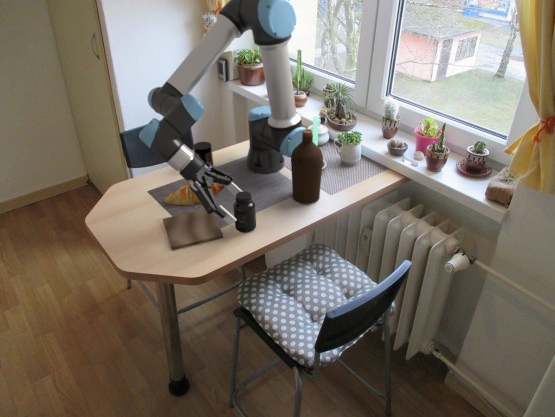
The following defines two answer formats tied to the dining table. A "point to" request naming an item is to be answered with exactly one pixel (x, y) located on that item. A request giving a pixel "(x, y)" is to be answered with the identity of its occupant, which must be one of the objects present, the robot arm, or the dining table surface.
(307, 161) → the olive oil
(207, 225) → the brown cloth napkin
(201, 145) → the supplement container
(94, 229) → the dining table surface
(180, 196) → the croissant
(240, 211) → the supplement bottle
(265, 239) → the dining table surface
